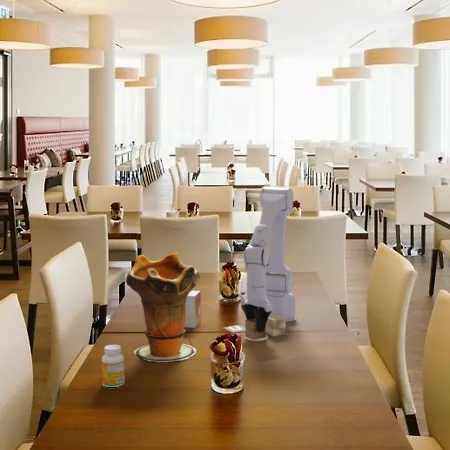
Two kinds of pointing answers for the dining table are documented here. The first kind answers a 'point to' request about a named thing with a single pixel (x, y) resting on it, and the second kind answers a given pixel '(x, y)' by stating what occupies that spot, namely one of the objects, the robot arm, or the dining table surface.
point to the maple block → (276, 325)
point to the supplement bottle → (112, 366)
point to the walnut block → (253, 330)
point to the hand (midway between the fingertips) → (256, 329)
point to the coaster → (257, 339)
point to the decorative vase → (163, 305)
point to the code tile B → (275, 336)
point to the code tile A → (235, 328)
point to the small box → (193, 309)
